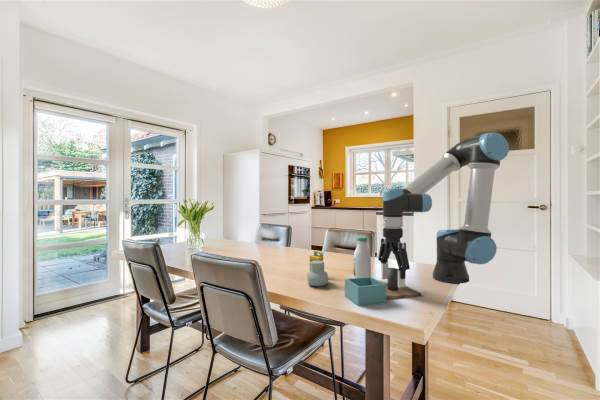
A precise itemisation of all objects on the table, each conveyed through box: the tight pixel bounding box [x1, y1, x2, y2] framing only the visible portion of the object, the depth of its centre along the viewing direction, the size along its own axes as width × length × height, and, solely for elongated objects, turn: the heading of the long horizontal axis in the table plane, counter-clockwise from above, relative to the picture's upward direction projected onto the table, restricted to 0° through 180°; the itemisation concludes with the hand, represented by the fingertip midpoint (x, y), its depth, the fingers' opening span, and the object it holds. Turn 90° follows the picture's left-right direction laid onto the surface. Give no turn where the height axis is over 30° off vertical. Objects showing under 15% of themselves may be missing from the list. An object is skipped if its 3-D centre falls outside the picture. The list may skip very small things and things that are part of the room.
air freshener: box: [306, 260, 329, 287], centre depth 131 cm, size 11×8×10 cm
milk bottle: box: [353, 236, 372, 278], centre depth 136 cm, size 8×8×20 cm
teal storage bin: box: [344, 276, 387, 307], centre depth 110 cm, size 11×11×7 cm
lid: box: [385, 267, 422, 300], centre depth 119 cm, size 15×15×9 cm
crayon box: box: [309, 250, 324, 272], centre depth 144 cm, size 7×3×12 cm, turn 35°
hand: (392, 282), depth 119 cm, fingers open, 11 cm apart
